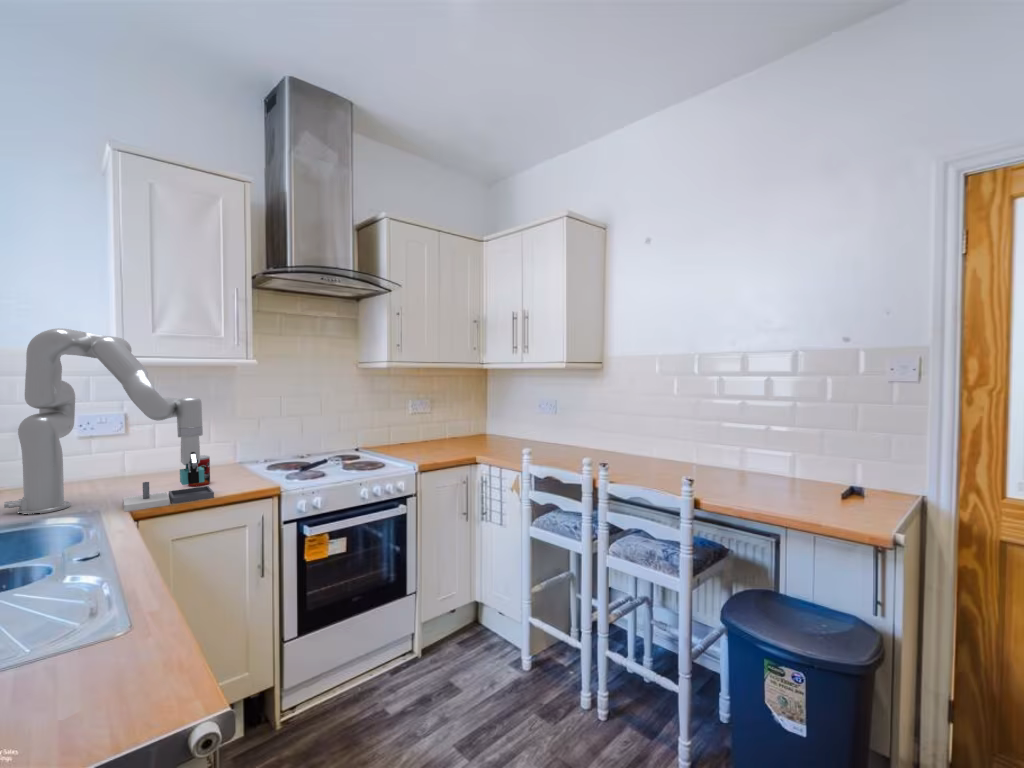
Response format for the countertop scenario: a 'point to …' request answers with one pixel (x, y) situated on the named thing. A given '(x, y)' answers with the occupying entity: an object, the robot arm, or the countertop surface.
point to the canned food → (206, 466)
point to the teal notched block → (185, 475)
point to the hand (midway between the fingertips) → (192, 481)
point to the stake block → (145, 500)
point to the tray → (191, 494)
